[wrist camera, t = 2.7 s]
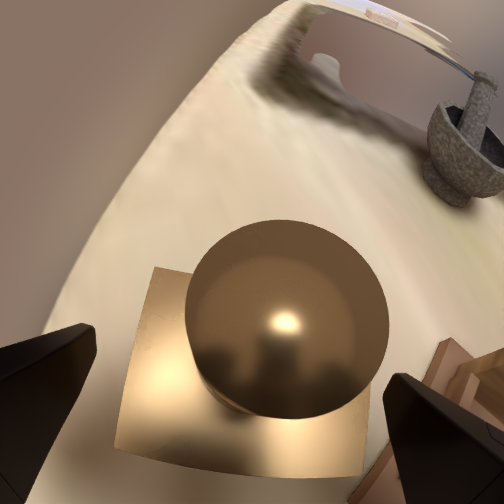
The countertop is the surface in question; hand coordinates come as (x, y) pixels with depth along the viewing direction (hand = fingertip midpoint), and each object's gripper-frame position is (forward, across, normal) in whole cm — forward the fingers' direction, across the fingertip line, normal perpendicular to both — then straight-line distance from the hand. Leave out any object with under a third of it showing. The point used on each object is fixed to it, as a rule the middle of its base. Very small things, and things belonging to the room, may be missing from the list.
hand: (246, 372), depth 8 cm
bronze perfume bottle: (+5, 0, +6) cm, 8 cm away
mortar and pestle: (+20, -18, -9) cm, 29 cm away
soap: (+71, -27, -58) cm, 95 cm away
